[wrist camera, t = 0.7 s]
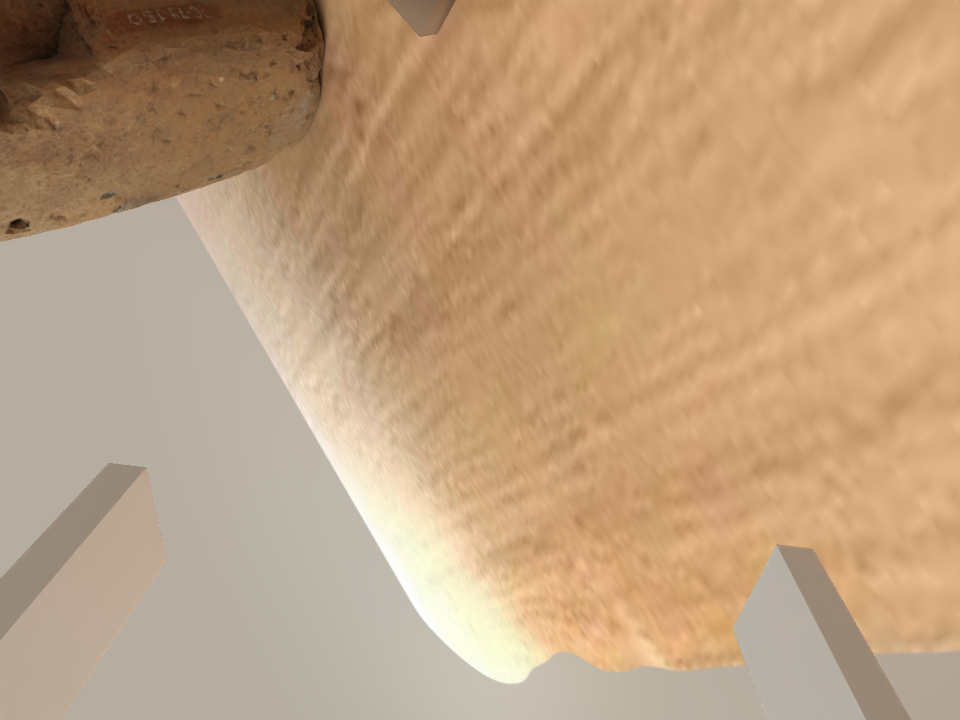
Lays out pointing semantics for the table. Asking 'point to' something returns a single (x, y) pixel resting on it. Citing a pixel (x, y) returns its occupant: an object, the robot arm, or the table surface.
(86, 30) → the block
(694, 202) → the table surface
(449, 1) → the walnut board
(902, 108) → the table surface
